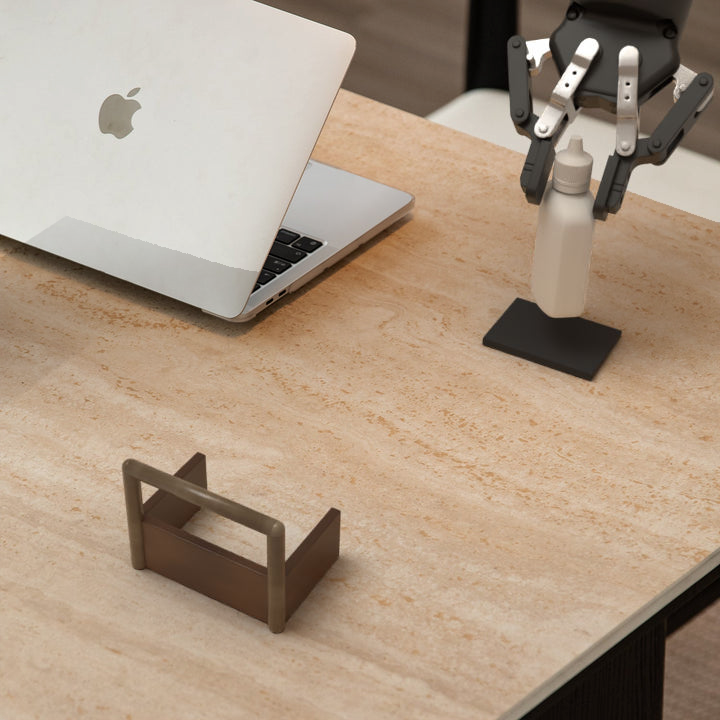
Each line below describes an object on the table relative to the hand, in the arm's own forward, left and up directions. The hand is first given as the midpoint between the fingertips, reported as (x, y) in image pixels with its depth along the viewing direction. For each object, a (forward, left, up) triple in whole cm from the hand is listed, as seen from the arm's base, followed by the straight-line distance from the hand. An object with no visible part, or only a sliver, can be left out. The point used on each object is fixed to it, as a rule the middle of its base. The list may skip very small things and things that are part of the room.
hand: (565, 207), depth 78 cm
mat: (0, +2, -12) cm, 12 cm away
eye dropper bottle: (0, +2, -8) cm, 8 cm away
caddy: (-7, -26, -11) cm, 29 cm away
